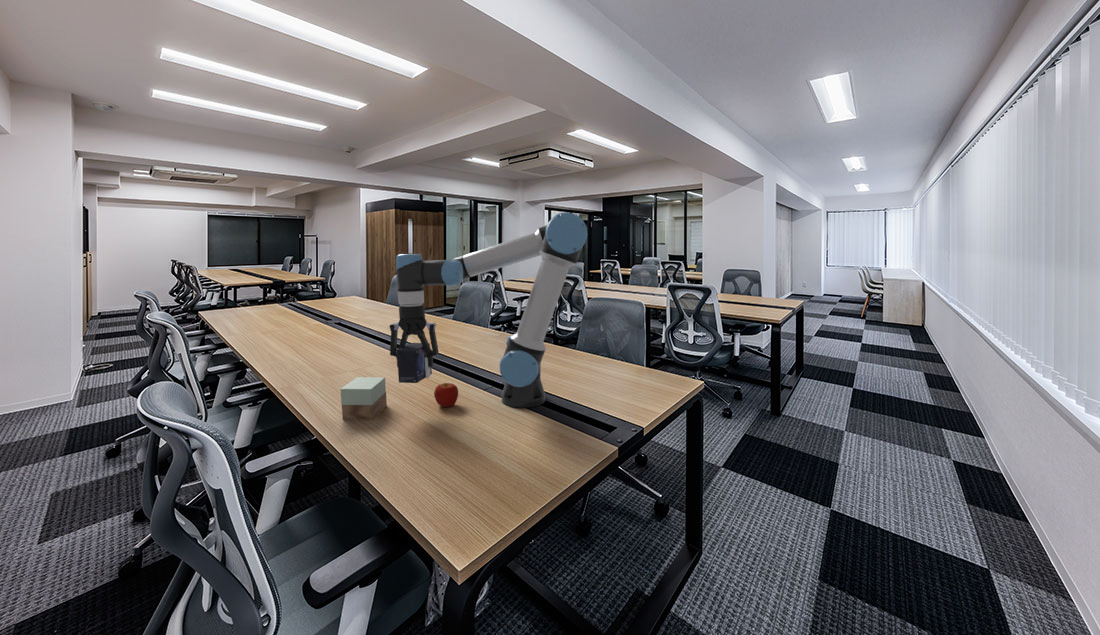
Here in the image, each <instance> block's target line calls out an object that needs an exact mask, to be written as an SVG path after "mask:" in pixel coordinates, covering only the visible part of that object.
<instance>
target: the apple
mask: <svg viewBox="0 0 1100 635" xmlns="http://www.w3.org/2000/svg"><path fill="white" fill-rule="evenodd" d="M433 396H434V399H435V401H436V403H437V404H438V406H441V407H443V408H451V407H453V406H454V405H455V404H456V402H457V401H458V397H459V388H458V386H456V385H455V384H454V383H449V382H444V383H441V384H438V385H437V386H436V387H435V389H434V393H433Z"/></svg>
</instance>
